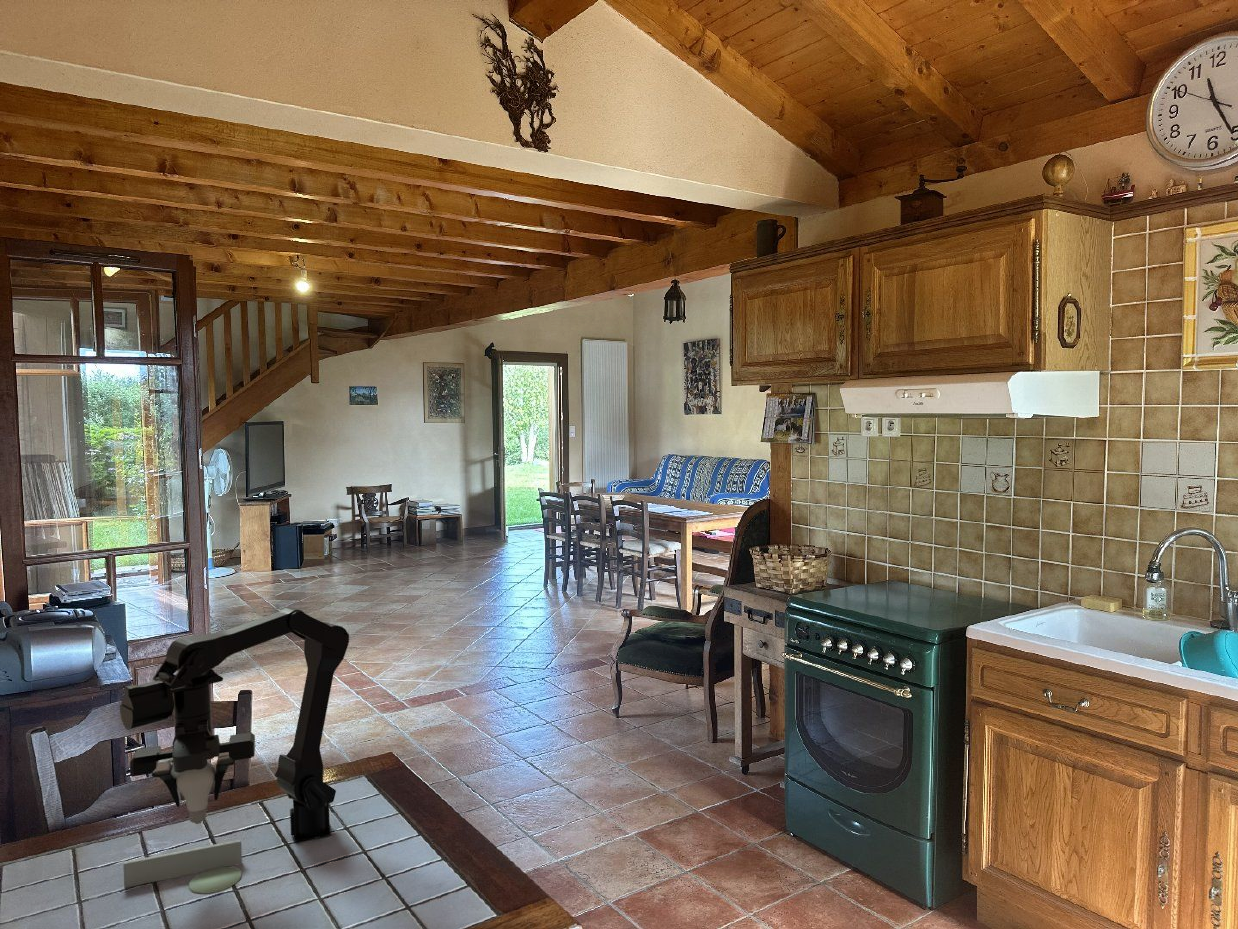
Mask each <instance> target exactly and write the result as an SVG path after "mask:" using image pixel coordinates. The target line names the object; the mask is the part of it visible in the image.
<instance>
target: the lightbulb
mask: <svg viewBox="0 0 1238 929" xmlns="http://www.w3.org/2000/svg"><path fill="white" fill-rule="evenodd" d="M215 777H216V767H215V766H214V765H213V764H212V763H211V762H210V761H209V760H207V766H206V767H205V768H203V769H200V770H196V769H194V770H187V771H184V772H181V773H177V776H176V785H177V788H178V789H179V791H180V795H182V796H183V798H184V800H185V804H186V809H187V811H188V816H189V821H190V823H194V824H196V825H200V824H201V823H202V822H203V821H204V820H206V818H207V807H208V805H209V804H208V803H209V795H210V792H211V790H212V788H213V786H214V785H215Z"/></svg>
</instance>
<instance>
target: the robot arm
mask: <svg viewBox="0 0 1238 929" xmlns="http://www.w3.org/2000/svg"><path fill="white" fill-rule="evenodd" d="M290 633H291V634H293V635H294V636H295V637H298V638H300V639H301V640H304V641H303V642H304V646H303V649H304V650H303V654H304V657H305V658H304V659H305V663H306V666H307V667H306V668H307V673H306V677H305V681H304V688H303V694H302V696H301V697H302V698H301V703H300V709H299V714H298V719H297V724H296V725H297V726H296V730H295V736H294V741H293V745H292V747H291V748H290V749H289V751H288V753H287V754H279V756H278V765H277V769H276V772H275V774H274V775H273V776H274V778H277V779H276V784H277V787H278V788H279V789H280V790H281V791H282V792H283V793H286V795H287V798H288V799H292V808H290V809H289V818H290V819H289V821H290V822H289V824H290V836H293V842H294V843H299V842H304V841H309V840H315V839H319V838H320V839H321V838H325V837H328V836H332V829H331V824H330V818H331V817H330V803H333V802H334V801H335V797H336V793H337V790H336V789H335V788H333V787H332V786H330V785H329V784H327V783H326V782H324V762H323V758H322V754H321V742H322V738H323V732H324V727H325V722H326V716H327V711H328V706H329V699H330V696H331V690H332V685H333V679H334V674H335V672H336V670H337V669H338V667H339V666H340V665H341V663H342V662H343V661H344V657H346V656H345V655H346V652H347V650H348V647H349V643H350V634H349V632H348V631H347V630H346V628H345V627H343V626H342V625H338V624H337V625H336V624H334V623H329V622H325V621H321V620H319V619H316V618H315V617H312V616H311V615H309V614H307V613H305V612H304V611H303V610H301V609H297V608H294V607H293V608H292V607H285V608H282V609H281V610H279V611H277V612H274V613H271V614H269V615H265V616H263V617H260V618H258V619H254V620H251V621H248V622H246V623H243V624H240V625H237V626H235V627H232V628H231V627H230V628H228V629H226V630H223V631H220V632H219V631H218V632H213V633H211V632H210V633H203V634H202V633H201V634H194V635H188V636H184V637H179V638H177V639H175V640H174V641H172V642H171V643H170V646H169V647H168V649H167V650H166V655H165V659H164V660H163V662H162V663H161V665H160V666H159V668H158V670H157V671H156V673H155V674H154V676H153V677H152V680H153V681H151V682H146V683H142V684H131V685H127V686H125V687H124V688H123V689H124V694H123V695H122V698H121V702H120V705H119V713H120V718H121V722H122V724H123V727H124V728H125V729H126V730H127V731H131V730H135V729H137V728H142V727H145V726H150V725H153V724H158V723H160V722H161V723H162V722H165V721H167V720H168V719H169V717H172V715H173V724H174V737H173V741H172V750H167V751H162V747H161V745H157V746H156V745H155V746H149V747H141V748H137V750H136V751H135V752H134V753H133V755H132V757H131V758H130V761H129V775H130V777H138V776H139V777H140V776H144V775H146V776H147V775H150V774H151V777H152V778H159V779H160V780H161V781H163V782H164V784H165V786H166V787H167V789H168V791H169V794H170V795H171V797H172V799H173V801H174V803H175V806H176V807H177V808H179V807H181V792H180V791H179V789H178V788H177V785H176V776H177V773H181V772H184V771H187V770H194V769H196V770H200V769H203V768H205V767H206V766H207V761H209V760H212V759H214V758H217V760H216V765H215V771H216V777H215V782H214V789H213V790H214V791H213V796H214V801H218V798H219V795H220V791H221V787H222V783H223V780H224V777H225V775H226V773H227V770H228V768H229V767H230V766H231V767H232V766H234V765H235V764H236V762H237V761H240V760H247V759H251V758H254V757H255V752H256V736H255V734H254V733H253V732H250V731H249V732H243V733H238V734H231V735H230V737H229V740H228V741H226V742H221V743H220V736H219V734H214V733H213V717H212V715H213V714H212V712H213V711H212V700H211V699H212V696H211V695H212V694H211V685H212V684H216V683H220V682H223V680H224V677H223V676H221V675H219V674H218V673H216V672H215V670H214V669H215V668H216V667H217V666H219V665H221V664H223V662H224V661H225V660H226V659H228V658H229V657H231V656H233V655H234V654H236V653H237V654H238V653H239V652H242V651H245V650H247V649H250V648H253V647H256V646H259V645H261V644H263V643H266V642H269V641H272V640H275V639H277V638H281V637H282V636H285V635H288V634H290ZM176 672H177V673H176ZM175 673H176V674H175ZM213 734H214V735H213Z"/></svg>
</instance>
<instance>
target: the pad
mask: <svg viewBox="0 0 1238 929" xmlns="http://www.w3.org/2000/svg"><path fill="white" fill-rule="evenodd" d="M241 878H242V870H241V869H239V868H238V867H233V866H229V867H219V868H214V869H211V870H208V871H204V872H199V873H198V874H197V875H195V876H194V877H193V878H192V879H191V880H189V883H188V889H189V891H191V892H193V893H196V894H211V893H215V892H220V891H224V890H226V889H228V888H230V887H232V886H234V885H235V884H237V883H238V882H239V881H240V880H241Z"/></svg>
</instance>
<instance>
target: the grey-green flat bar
mask: <svg viewBox="0 0 1238 929" xmlns="http://www.w3.org/2000/svg"><path fill="white" fill-rule="evenodd" d="M242 864H243V852H242V839H237V840H230V841H226V842H221V843H216V844H210V845H205V846H200V847H196V848H195V847H194V848H189V849H186V850H178V851H174V852H169V853H164V854H159V855H158V854H157V855H152V856H148V857H142V858H137V859H133V860H132V859H131V860H127V861H124V862H123V865H122V866H123V868H122V869H123V887H124V888H125V889H126V888H128V887H129V888H130V887H134V886H138V885H143V884H148V883H154V882H158V881H162V880H163V881H164V880H168V879H174V878H179V877H183V876H188V875H194V874H200V873H203V872H205V871H208V870H211V869H214V868H219V867H233V866H239V865H242Z"/></svg>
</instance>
